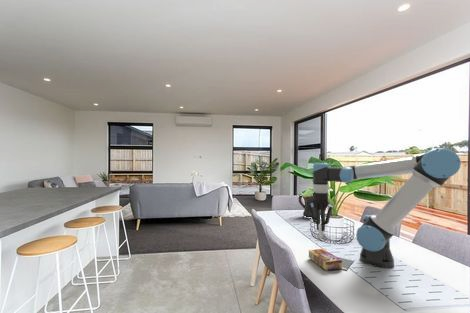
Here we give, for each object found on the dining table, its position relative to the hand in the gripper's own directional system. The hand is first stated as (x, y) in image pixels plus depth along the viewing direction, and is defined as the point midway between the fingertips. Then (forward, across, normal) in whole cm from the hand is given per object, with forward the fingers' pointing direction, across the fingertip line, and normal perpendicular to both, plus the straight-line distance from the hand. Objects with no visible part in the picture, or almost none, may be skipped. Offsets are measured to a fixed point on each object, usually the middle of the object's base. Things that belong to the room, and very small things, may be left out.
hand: (320, 236), depth 128 cm
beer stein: (+12, +40, -85) cm, 94 cm away
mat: (+11, -7, 0) cm, 13 cm away
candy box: (+9, +2, +1) cm, 9 cm away
